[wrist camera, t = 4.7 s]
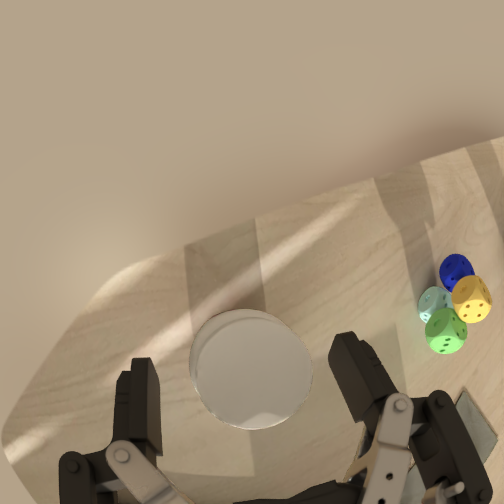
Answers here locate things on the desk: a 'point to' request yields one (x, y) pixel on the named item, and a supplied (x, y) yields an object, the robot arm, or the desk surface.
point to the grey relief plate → (480, 437)
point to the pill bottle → (250, 369)
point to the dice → (453, 305)
